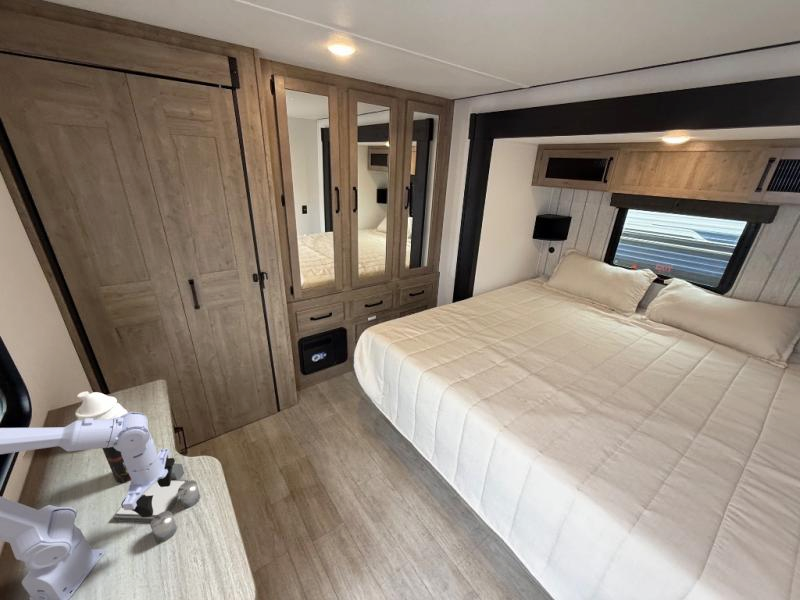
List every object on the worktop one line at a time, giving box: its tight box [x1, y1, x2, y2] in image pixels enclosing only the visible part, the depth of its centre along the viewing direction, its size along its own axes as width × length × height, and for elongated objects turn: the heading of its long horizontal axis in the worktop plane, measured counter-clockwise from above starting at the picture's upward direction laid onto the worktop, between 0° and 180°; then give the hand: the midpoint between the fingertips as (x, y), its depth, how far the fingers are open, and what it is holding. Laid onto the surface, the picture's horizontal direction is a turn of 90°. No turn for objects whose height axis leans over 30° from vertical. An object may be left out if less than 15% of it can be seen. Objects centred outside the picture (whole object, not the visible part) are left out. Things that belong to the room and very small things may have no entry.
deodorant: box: [101, 447, 131, 484], centre depth 89 cm, size 6×6×15 cm
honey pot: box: [74, 390, 129, 421], centre depth 102 cm, size 13×13×18 cm
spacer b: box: [178, 480, 201, 509], centre depth 85 cm, size 4×4×5 cm
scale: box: [112, 462, 189, 523], centre depth 86 cm, size 14×12×4 cm
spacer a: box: [150, 510, 178, 543], centre depth 77 cm, size 4×4×5 cm
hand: (157, 499), depth 77 cm, fingers open, 7 cm apart
